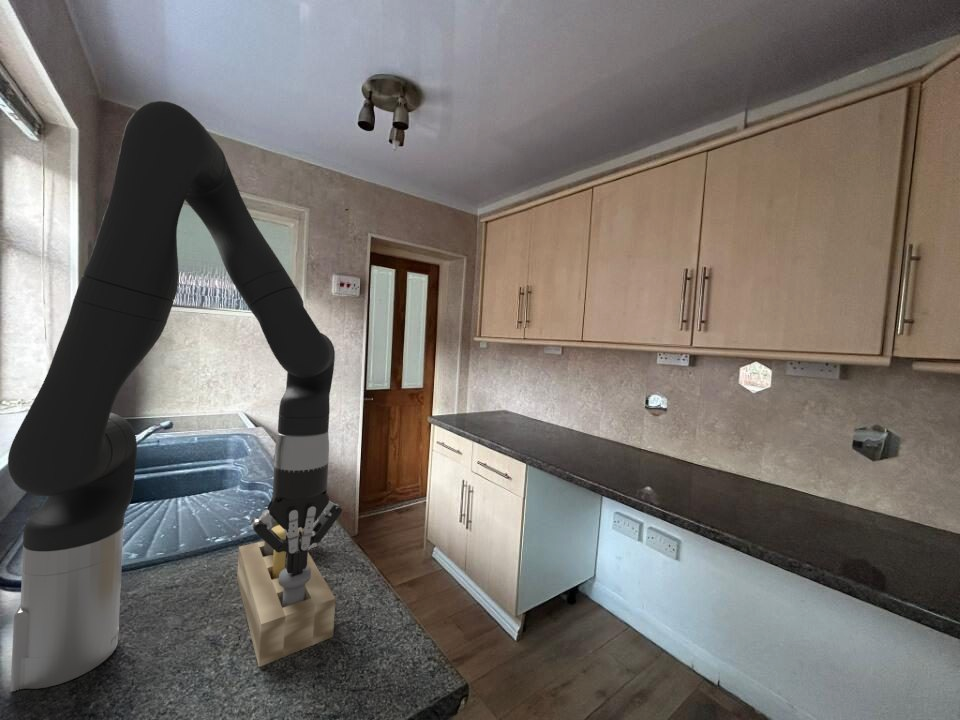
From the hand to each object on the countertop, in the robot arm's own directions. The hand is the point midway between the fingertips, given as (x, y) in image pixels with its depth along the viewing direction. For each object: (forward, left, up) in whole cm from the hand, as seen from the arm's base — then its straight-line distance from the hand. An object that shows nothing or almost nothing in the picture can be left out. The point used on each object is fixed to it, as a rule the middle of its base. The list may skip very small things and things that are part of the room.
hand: (295, 572), depth 58 cm
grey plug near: (0, 0, -9) cm, 9 cm away
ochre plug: (0, +8, -6) cm, 10 cm away
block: (0, +8, -10) cm, 12 cm away
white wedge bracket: (+7, +25, -10) cm, 28 cm away
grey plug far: (0, +16, -6) cm, 17 cm away
